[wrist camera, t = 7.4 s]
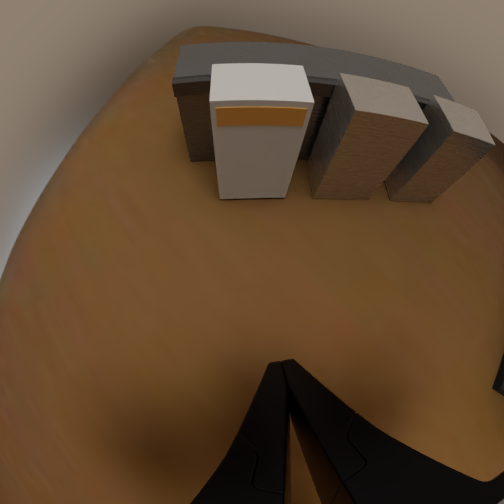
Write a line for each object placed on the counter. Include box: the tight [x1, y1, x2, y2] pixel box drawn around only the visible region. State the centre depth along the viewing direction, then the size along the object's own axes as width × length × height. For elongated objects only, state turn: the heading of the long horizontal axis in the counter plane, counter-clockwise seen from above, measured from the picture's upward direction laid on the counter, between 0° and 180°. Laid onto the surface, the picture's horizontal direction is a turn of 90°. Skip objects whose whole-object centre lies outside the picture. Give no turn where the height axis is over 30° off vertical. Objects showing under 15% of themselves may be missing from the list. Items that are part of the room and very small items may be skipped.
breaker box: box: [172, 42, 495, 203], centre depth 17 cm, size 8×20×9 cm, turn 93°
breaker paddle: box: [209, 63, 314, 199], centre depth 15 cm, size 3×4×9 cm
